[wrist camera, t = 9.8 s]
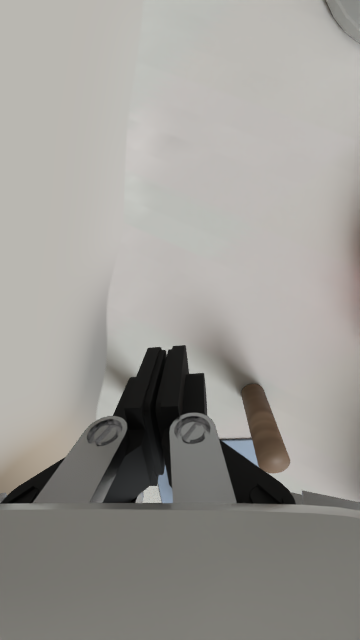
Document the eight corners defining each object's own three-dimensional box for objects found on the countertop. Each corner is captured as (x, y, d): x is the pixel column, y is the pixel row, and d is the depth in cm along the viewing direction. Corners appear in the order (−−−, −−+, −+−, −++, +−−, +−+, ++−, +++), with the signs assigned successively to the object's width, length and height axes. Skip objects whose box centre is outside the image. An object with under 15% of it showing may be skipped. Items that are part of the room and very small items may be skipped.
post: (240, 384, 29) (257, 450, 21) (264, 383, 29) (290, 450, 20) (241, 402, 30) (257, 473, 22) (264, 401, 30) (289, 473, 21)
